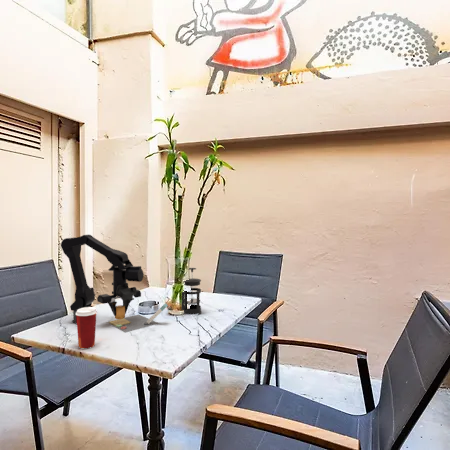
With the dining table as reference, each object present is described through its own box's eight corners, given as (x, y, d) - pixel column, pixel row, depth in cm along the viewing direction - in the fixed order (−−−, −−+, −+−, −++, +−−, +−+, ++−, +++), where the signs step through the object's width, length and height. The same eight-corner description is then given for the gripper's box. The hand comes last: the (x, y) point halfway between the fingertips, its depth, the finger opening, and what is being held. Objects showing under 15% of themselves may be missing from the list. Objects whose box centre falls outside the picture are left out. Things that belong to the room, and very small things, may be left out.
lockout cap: (117, 319, 151) (117, 308, 151) (113, 317, 154) (113, 306, 154) (126, 317, 154) (126, 306, 154) (122, 315, 157) (122, 304, 157)
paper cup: (101, 343, 132) (101, 307, 131) (87, 351, 124) (87, 313, 124) (85, 340, 134) (85, 305, 134) (70, 348, 127) (70, 311, 126)
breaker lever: (146, 321, 152) (163, 304, 151) (148, 319, 155) (165, 303, 154) (148, 324, 152) (165, 307, 151) (151, 321, 155) (168, 305, 154)
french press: (193, 309, 179) (193, 265, 178) (206, 312, 173) (206, 267, 172) (176, 314, 170) (176, 268, 169) (189, 318, 164) (189, 270, 163)
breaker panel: (125, 334, 142) (125, 331, 142) (105, 324, 154) (105, 321, 154) (159, 325, 154) (159, 322, 154) (138, 316, 166) (138, 313, 166)
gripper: (108, 286, 141) (108, 323, 142) (147, 280, 154) (147, 314, 155) (96, 282, 149) (96, 317, 150) (134, 276, 162) (134, 309, 163)
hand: (119, 314), depth 154 cm, fingers closed on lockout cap, 4 cm apart
